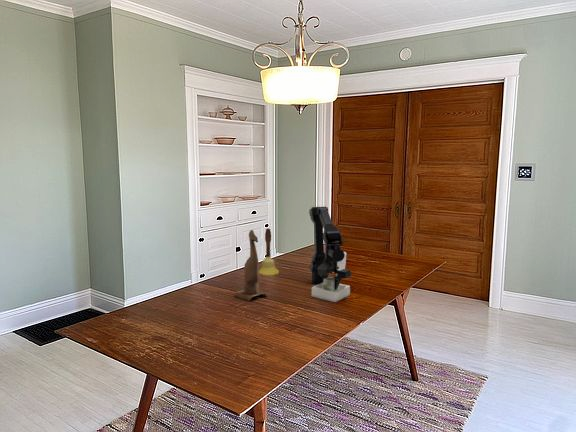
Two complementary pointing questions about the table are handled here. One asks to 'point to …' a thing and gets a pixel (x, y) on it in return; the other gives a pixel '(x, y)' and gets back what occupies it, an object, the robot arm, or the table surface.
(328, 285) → the mint block
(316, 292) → the bin
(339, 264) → the white cup
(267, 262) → the handbell
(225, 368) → the table surface
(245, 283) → the bird sculpture
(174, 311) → the table surface
